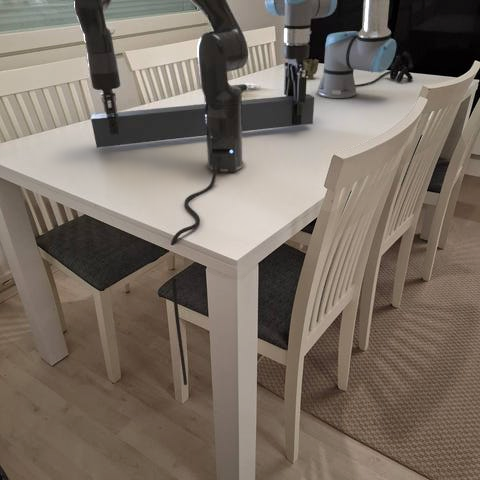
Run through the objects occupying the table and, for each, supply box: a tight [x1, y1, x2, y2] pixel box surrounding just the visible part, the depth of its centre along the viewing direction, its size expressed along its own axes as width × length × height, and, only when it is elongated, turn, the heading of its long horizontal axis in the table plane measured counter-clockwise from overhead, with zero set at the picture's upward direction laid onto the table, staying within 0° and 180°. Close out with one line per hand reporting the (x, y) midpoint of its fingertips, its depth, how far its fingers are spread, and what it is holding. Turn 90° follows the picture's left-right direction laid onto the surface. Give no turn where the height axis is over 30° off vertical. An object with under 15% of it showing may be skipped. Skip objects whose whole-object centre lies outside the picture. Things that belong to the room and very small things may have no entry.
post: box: [90, 93, 315, 149], centre depth 136 cm, size 67×5×8 cm, turn 106°
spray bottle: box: [232, 82, 261, 95], centre depth 184 cm, size 3×11×25 cm
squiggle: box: [389, 51, 414, 83], centre depth 198 cm, size 11×10×15 cm
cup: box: [303, 58, 320, 80], centre depth 204 cm, size 8×7×8 cm
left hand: (114, 130), depth 130 cm, fingers closed on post, 4 cm apart
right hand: (293, 121), depth 144 cm, fingers closed on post, 5 cm apart
